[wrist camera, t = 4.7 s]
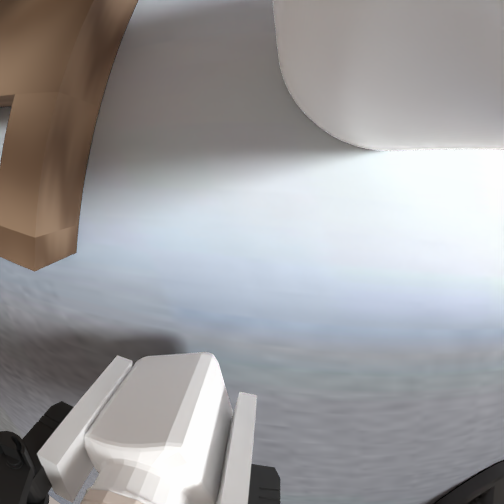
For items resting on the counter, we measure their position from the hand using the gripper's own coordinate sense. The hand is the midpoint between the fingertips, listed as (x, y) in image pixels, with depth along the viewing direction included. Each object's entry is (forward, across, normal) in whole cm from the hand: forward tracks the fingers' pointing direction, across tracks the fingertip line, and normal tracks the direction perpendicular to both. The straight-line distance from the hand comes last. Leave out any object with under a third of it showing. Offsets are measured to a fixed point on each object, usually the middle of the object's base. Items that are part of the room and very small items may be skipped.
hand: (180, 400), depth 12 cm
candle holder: (+3, -5, -16) cm, 17 cm away
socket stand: (+3, +13, -12) cm, 18 cm away
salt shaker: (+2, 0, 0) cm, 2 cm away
